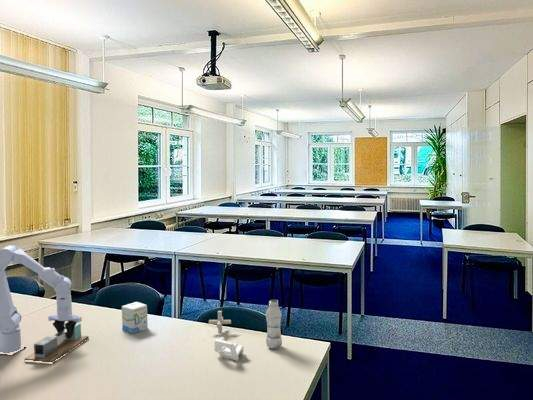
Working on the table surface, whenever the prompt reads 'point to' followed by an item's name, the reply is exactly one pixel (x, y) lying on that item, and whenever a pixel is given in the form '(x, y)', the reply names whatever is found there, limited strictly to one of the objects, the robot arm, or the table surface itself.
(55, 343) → the grey sleeve
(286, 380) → the table surface
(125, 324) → the ink box
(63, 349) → the walnut board
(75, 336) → the teal socket block
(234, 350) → the mounting bracket
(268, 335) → the plastic bottle
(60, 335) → the grey rectangular bar
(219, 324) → the pipe connector
